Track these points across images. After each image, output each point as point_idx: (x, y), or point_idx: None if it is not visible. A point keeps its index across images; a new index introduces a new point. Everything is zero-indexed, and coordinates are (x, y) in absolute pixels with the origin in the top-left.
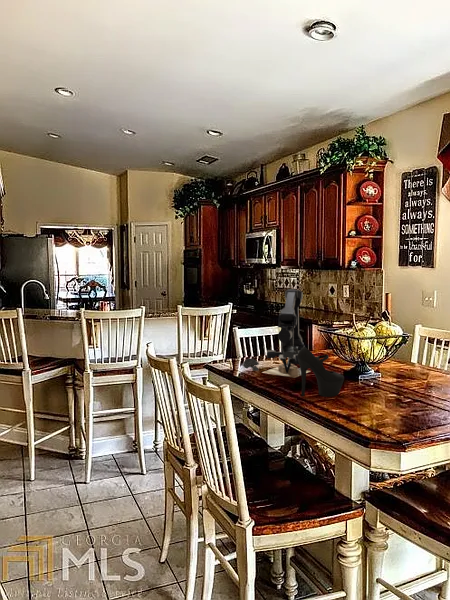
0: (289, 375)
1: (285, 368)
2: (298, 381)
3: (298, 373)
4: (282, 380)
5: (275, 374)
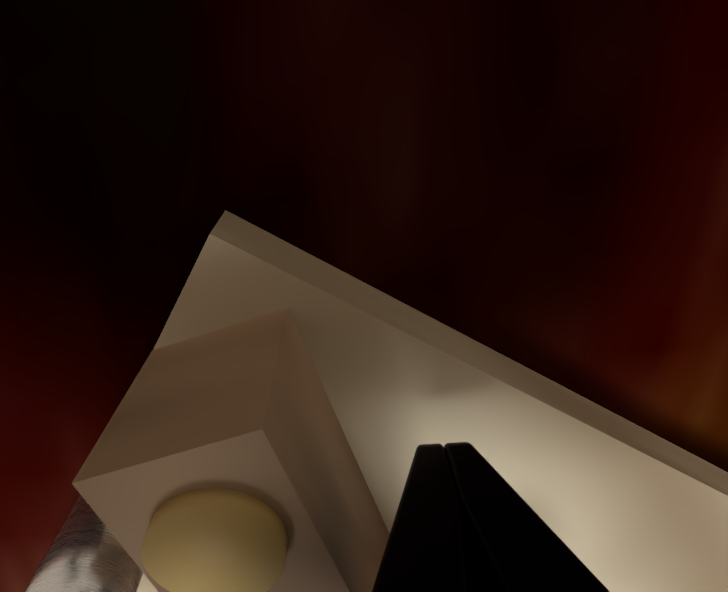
0: (368, 428)
1: (539, 534)
2: (122, 78)
3: None
4: (558, 159)
5: (681, 481)
